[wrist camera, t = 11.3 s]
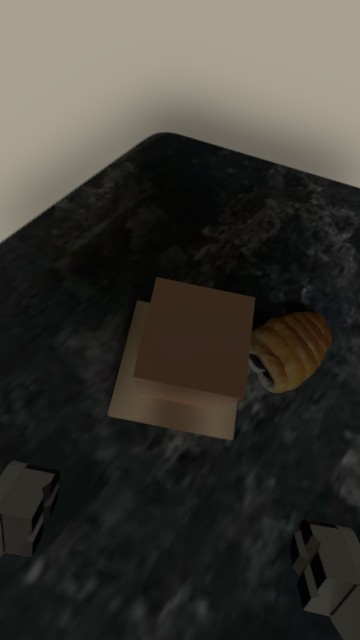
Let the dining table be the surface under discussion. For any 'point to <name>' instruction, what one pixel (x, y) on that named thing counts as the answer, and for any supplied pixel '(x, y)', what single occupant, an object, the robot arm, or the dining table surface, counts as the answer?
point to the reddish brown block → (195, 345)
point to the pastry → (288, 350)
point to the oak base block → (158, 410)
